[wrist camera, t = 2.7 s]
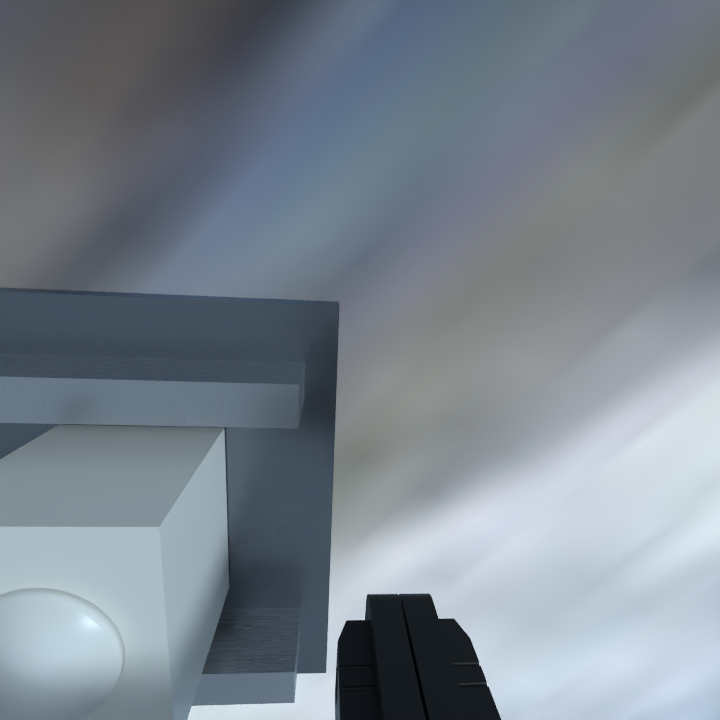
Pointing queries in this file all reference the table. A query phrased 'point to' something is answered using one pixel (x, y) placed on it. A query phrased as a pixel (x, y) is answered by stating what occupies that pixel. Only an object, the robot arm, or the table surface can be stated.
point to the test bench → (215, 410)
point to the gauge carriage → (110, 571)
